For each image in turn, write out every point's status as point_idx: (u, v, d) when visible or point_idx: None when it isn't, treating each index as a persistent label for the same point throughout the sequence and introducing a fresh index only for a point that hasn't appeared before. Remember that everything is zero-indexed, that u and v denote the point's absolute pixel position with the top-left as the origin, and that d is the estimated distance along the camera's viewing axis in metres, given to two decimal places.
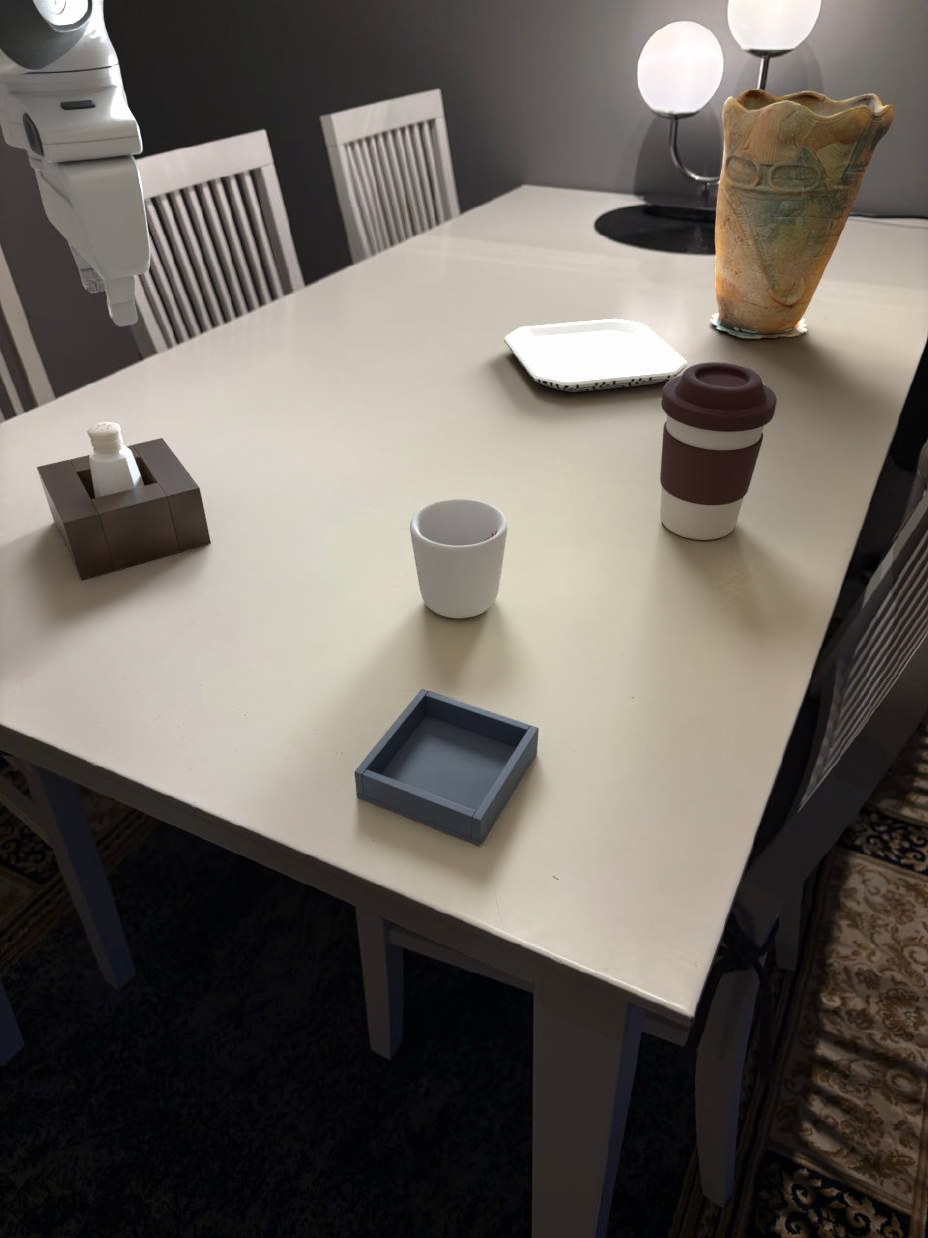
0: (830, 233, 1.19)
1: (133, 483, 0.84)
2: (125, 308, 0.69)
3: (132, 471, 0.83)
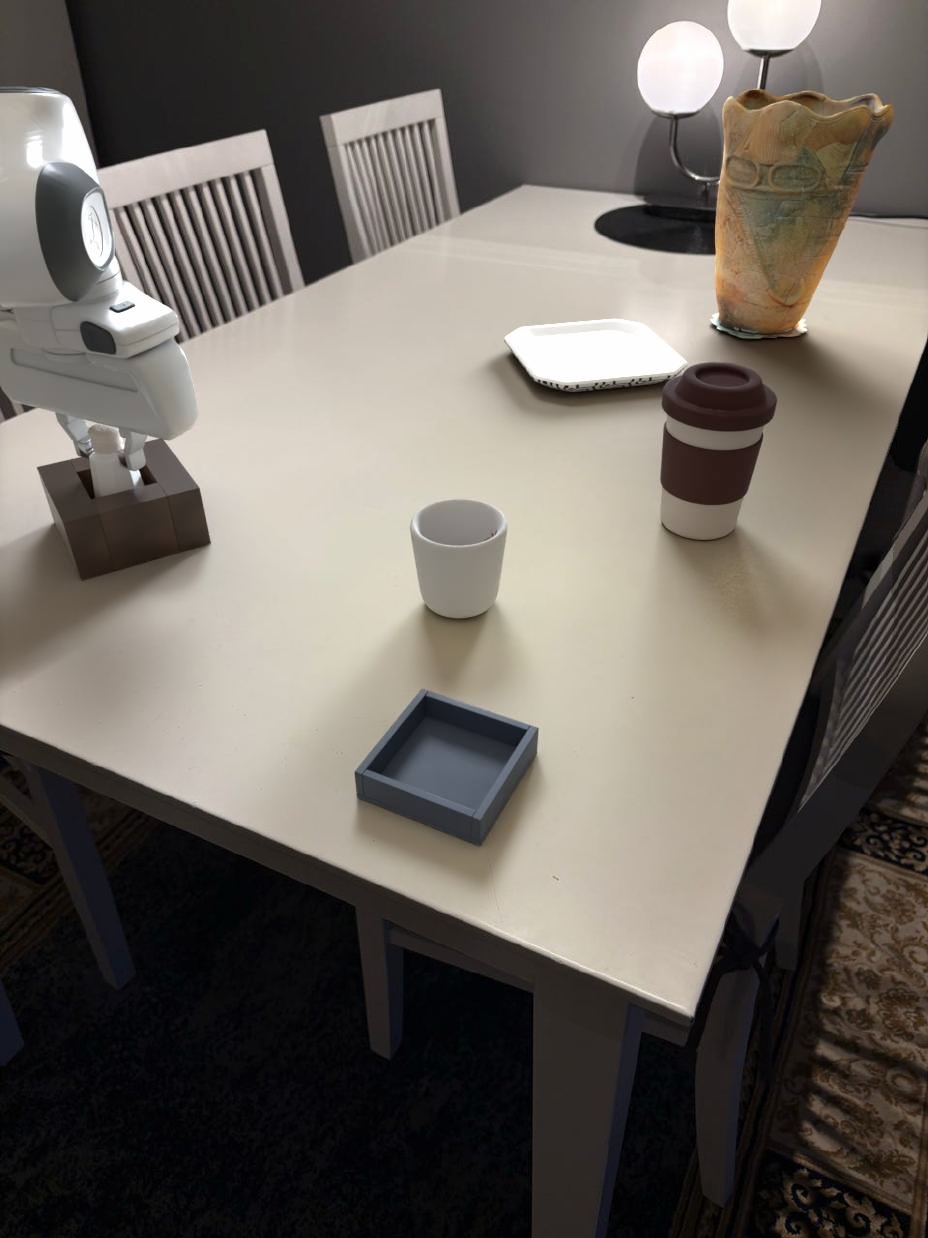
0: (830, 233, 1.19)
1: (133, 483, 0.84)
2: (138, 455, 0.82)
3: (132, 471, 0.83)
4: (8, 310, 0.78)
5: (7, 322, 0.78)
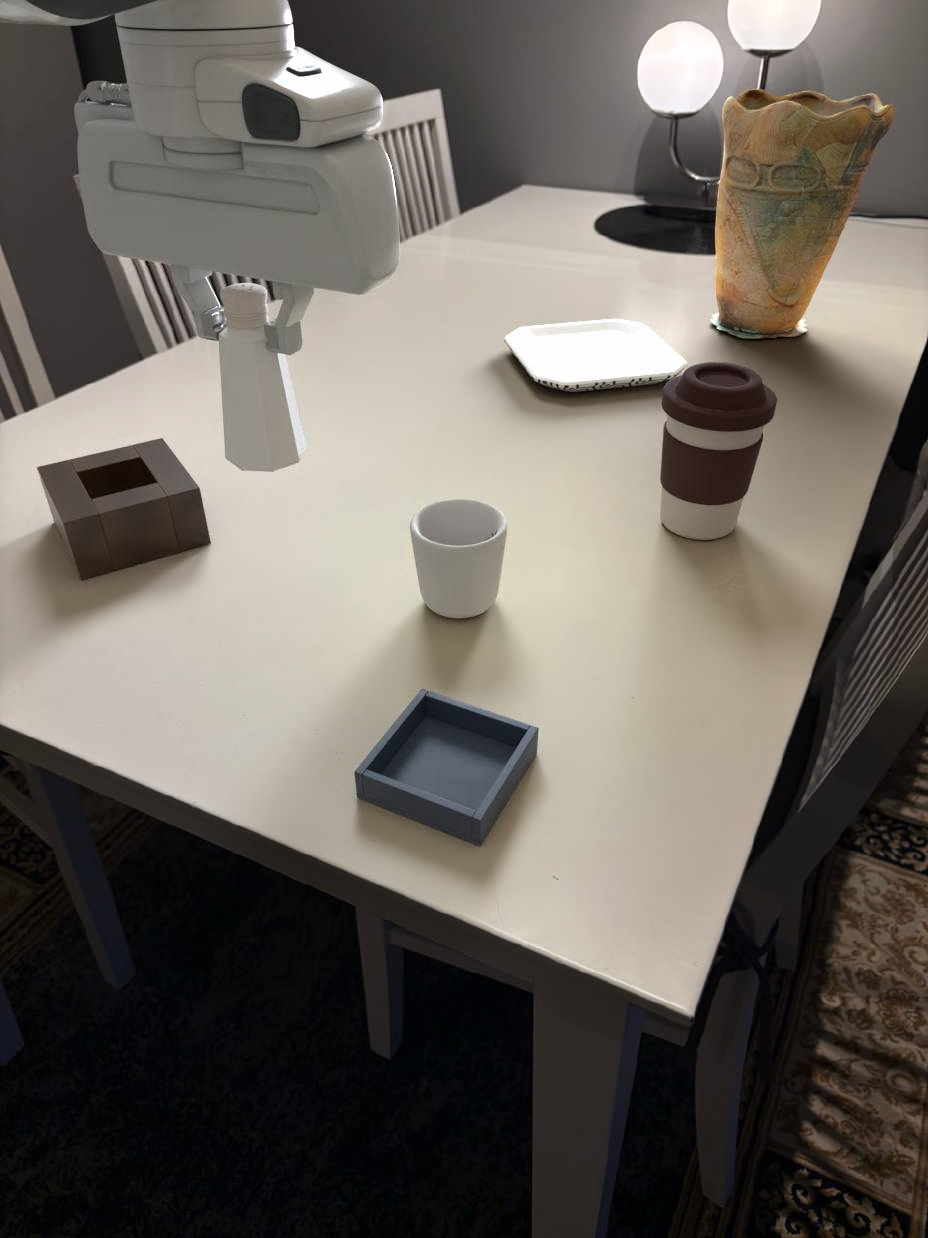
0: (830, 233, 1.19)
1: (281, 376, 0.57)
2: (294, 331, 0.55)
3: (280, 359, 0.57)
4: (107, 102, 0.51)
5: (106, 119, 0.51)
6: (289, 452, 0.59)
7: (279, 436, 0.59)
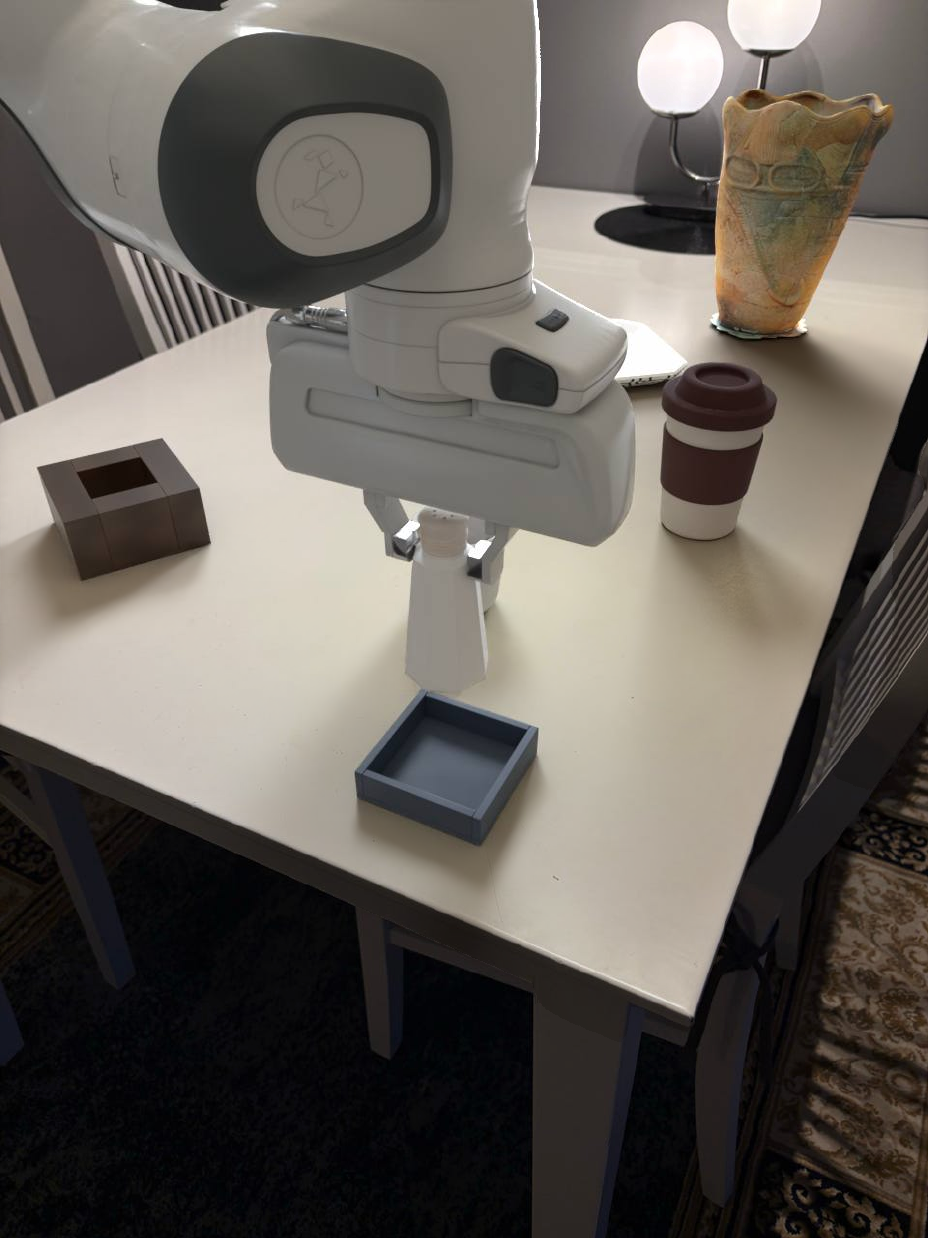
0: (830, 233, 1.19)
1: (476, 599, 0.52)
2: (498, 560, 0.50)
3: (476, 581, 0.52)
4: (307, 325, 0.47)
5: (306, 344, 0.47)
6: (477, 671, 0.55)
7: (469, 658, 0.54)
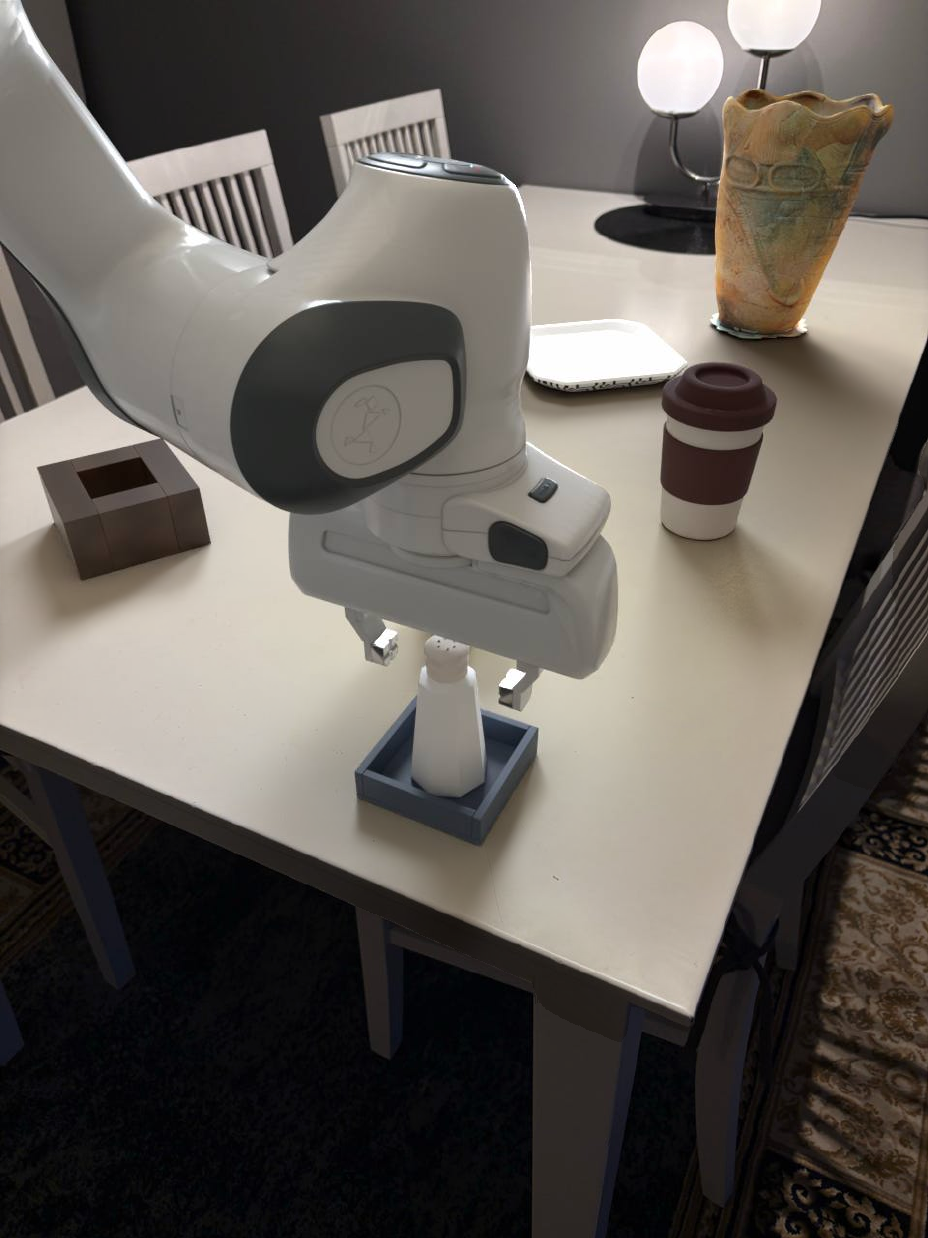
0: (830, 233, 1.19)
1: (476, 717, 0.58)
2: (527, 688, 0.55)
3: (476, 701, 0.58)
4: None
5: None
6: (476, 777, 0.60)
7: (469, 767, 0.59)
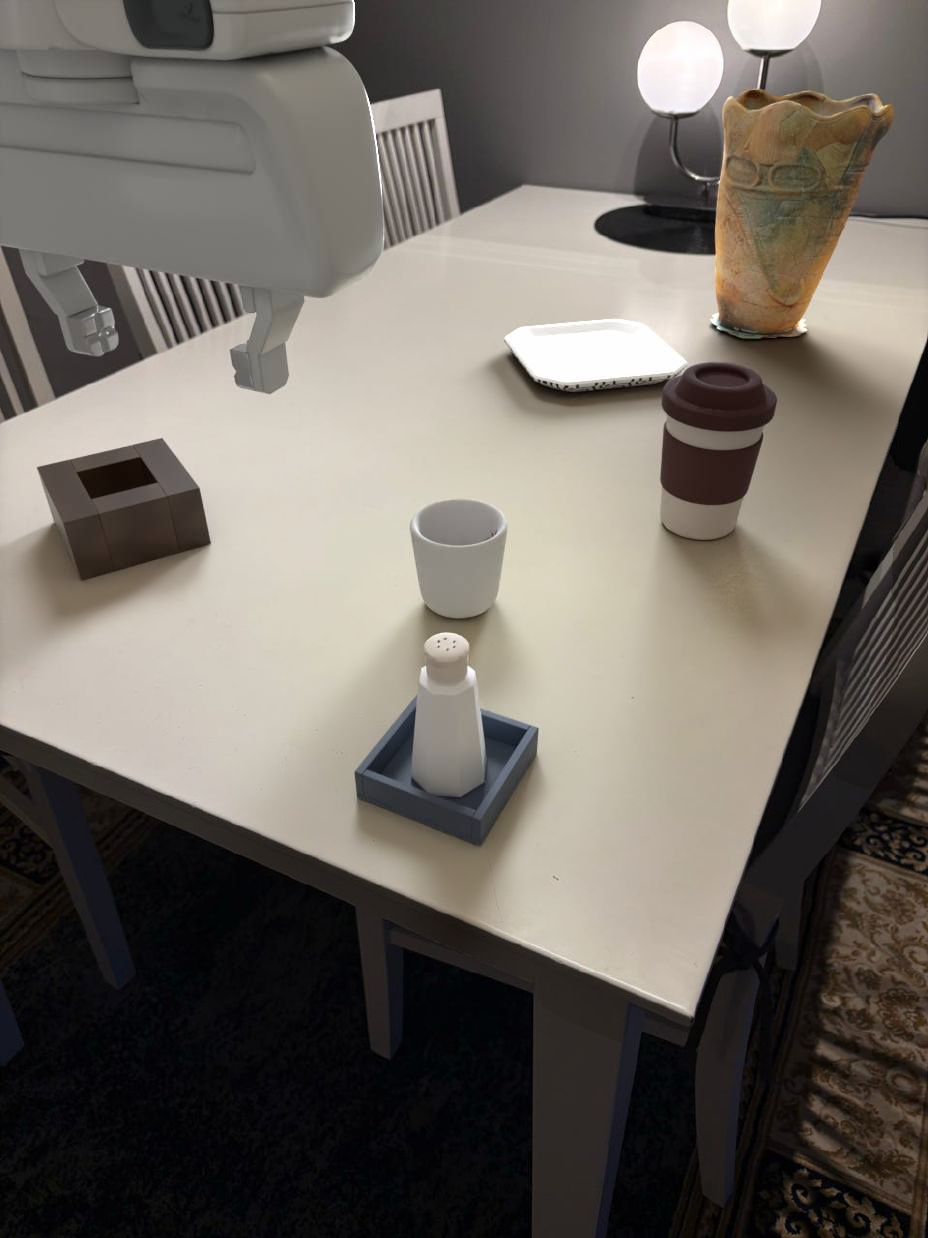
0: (830, 233, 1.19)
1: (476, 717, 0.58)
2: (275, 358, 0.37)
3: (476, 701, 0.58)
4: None
5: None
6: (476, 777, 0.60)
7: (469, 767, 0.59)
